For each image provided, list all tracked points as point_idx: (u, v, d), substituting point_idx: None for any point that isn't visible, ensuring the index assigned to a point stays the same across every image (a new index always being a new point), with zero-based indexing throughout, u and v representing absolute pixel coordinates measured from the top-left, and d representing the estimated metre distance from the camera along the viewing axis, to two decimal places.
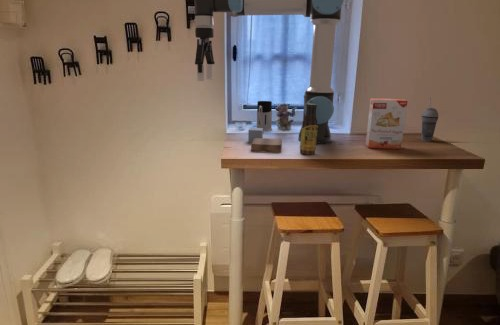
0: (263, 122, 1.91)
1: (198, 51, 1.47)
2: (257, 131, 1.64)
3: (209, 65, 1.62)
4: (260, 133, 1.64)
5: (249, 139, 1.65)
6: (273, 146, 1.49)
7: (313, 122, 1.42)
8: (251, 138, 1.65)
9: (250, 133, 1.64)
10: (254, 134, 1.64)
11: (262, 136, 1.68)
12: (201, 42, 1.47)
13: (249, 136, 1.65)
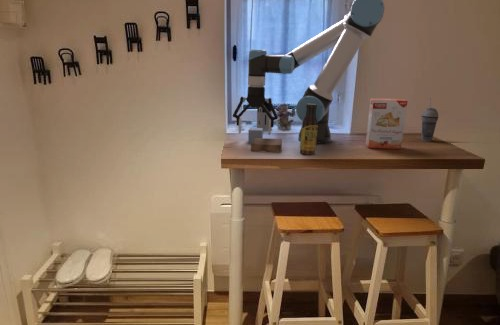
0: (263, 122, 1.91)
1: (237, 107, 1.65)
2: (257, 131, 1.64)
3: (269, 121, 1.65)
4: (260, 133, 1.64)
5: (249, 139, 1.65)
6: (273, 146, 1.49)
7: (313, 122, 1.42)
8: (251, 138, 1.65)
9: (250, 133, 1.64)
10: (254, 134, 1.64)
11: (262, 136, 1.68)
12: (240, 99, 1.63)
13: (249, 136, 1.65)
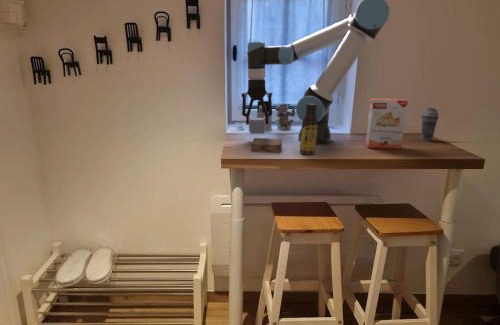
0: None
1: None
2: (258, 121, 1.62)
3: None
4: (261, 123, 1.62)
5: (251, 129, 1.64)
6: (273, 146, 1.49)
7: (313, 122, 1.42)
8: (253, 128, 1.63)
9: (251, 123, 1.63)
10: (255, 124, 1.63)
11: None
12: (242, 96, 1.63)
13: (251, 126, 1.63)
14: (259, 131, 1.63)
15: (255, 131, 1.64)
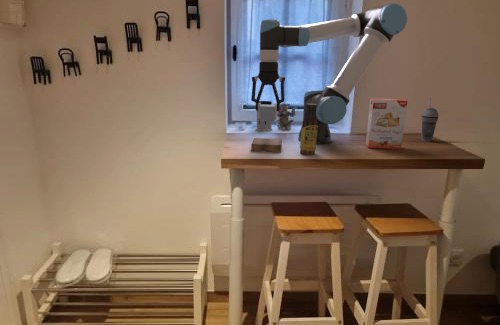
0: (263, 122, 1.91)
1: None
2: (269, 107, 1.48)
3: (275, 104, 1.51)
4: (272, 109, 1.48)
5: (260, 116, 1.50)
6: (273, 146, 1.49)
7: (313, 122, 1.42)
8: (262, 115, 1.50)
9: (261, 109, 1.49)
10: (266, 111, 1.49)
11: None
12: (252, 80, 1.49)
13: (260, 113, 1.49)
14: (269, 119, 1.50)
15: (265, 118, 1.50)
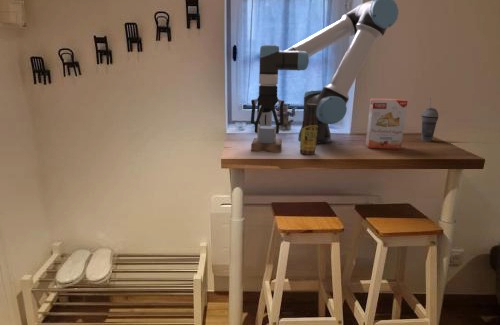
0: (263, 122, 1.91)
1: None
2: (268, 129, 1.51)
3: (274, 127, 1.53)
4: (272, 132, 1.51)
5: (260, 138, 1.52)
6: (273, 146, 1.49)
7: (313, 122, 1.42)
8: (262, 137, 1.52)
9: (261, 131, 1.51)
10: (265, 133, 1.51)
11: None
12: None
13: (260, 135, 1.52)
14: (269, 140, 1.52)
15: (264, 140, 1.52)
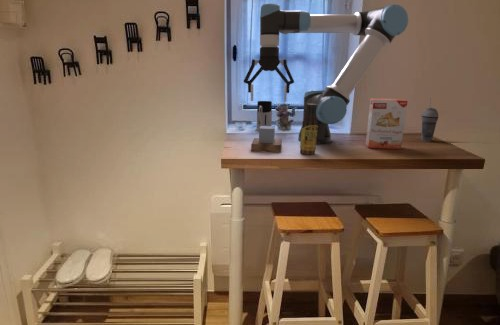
0: (263, 122, 1.91)
1: None
2: (268, 129, 1.51)
3: None
4: (272, 132, 1.51)
5: (260, 138, 1.52)
6: (273, 146, 1.49)
7: (313, 122, 1.42)
8: (262, 137, 1.52)
9: (261, 131, 1.51)
10: (265, 133, 1.51)
11: None
12: None
13: (260, 135, 1.52)
14: (269, 140, 1.52)
15: (264, 140, 1.52)
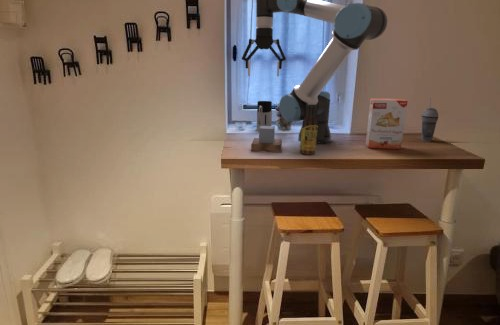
0: (263, 122, 1.91)
1: (245, 50, 1.69)
2: (268, 129, 1.51)
3: None
4: (272, 132, 1.51)
5: (260, 138, 1.52)
6: (273, 146, 1.49)
7: (313, 122, 1.42)
8: (262, 137, 1.52)
9: (261, 131, 1.51)
10: (265, 133, 1.51)
11: None
12: None
13: (260, 135, 1.52)
14: (269, 140, 1.52)
15: (264, 140, 1.52)
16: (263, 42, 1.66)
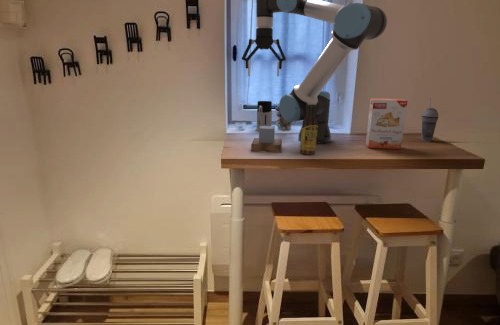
0: (263, 122, 1.91)
1: (246, 50, 1.70)
2: (268, 129, 1.51)
3: None
4: (272, 132, 1.51)
5: (260, 138, 1.52)
6: (273, 146, 1.49)
7: (313, 122, 1.42)
8: (262, 137, 1.52)
9: (261, 131, 1.51)
10: (265, 133, 1.51)
11: None
12: (249, 41, 1.68)
13: (260, 135, 1.52)
14: (269, 140, 1.52)
15: (264, 140, 1.52)
16: (263, 42, 1.66)
